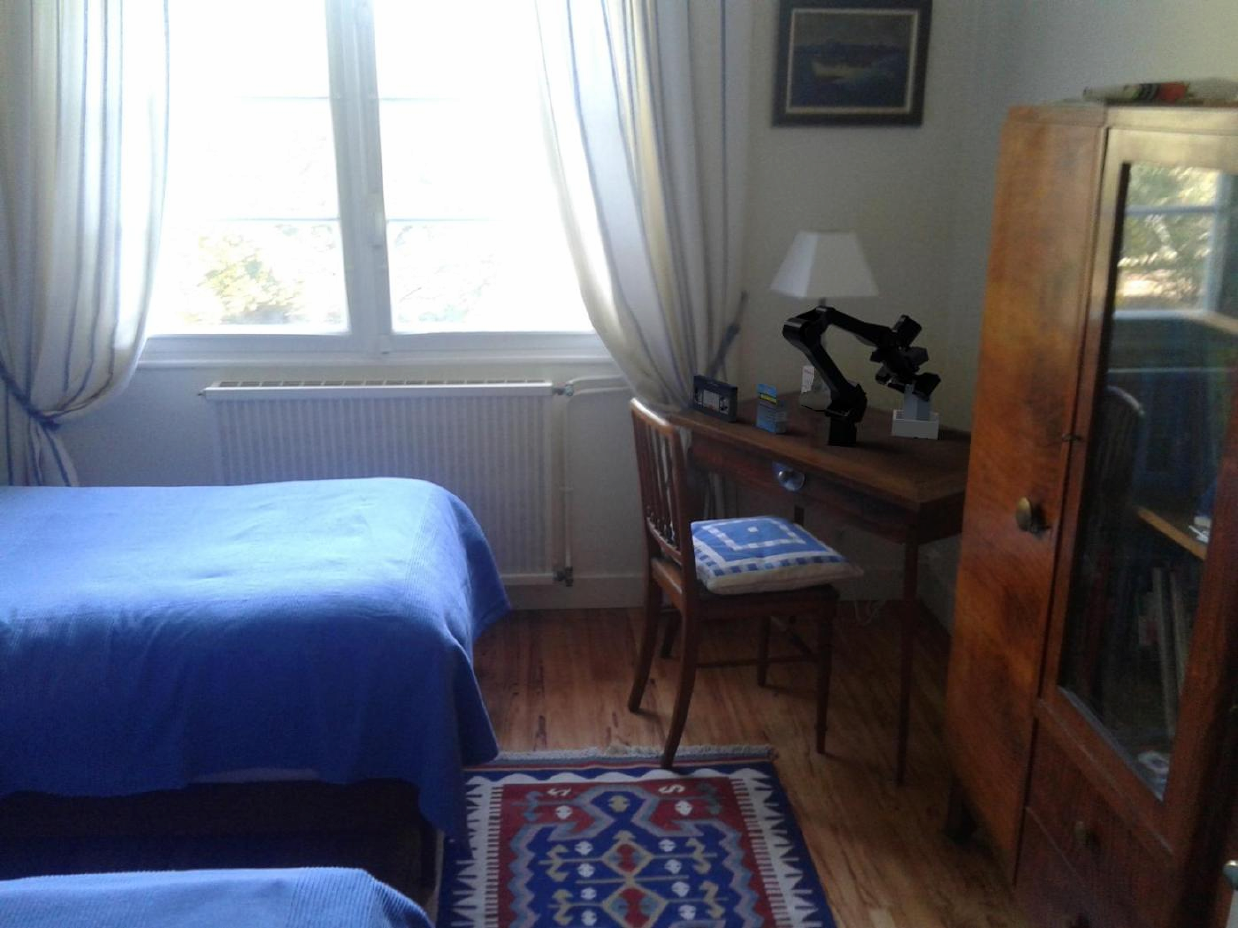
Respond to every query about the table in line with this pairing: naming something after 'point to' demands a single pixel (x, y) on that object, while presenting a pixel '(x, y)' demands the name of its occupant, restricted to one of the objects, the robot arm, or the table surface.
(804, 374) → the ink box
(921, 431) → the cream crate
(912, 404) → the grey hollow square tube
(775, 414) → the label tape box
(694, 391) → the vhs cassette tape
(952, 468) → the table surface
